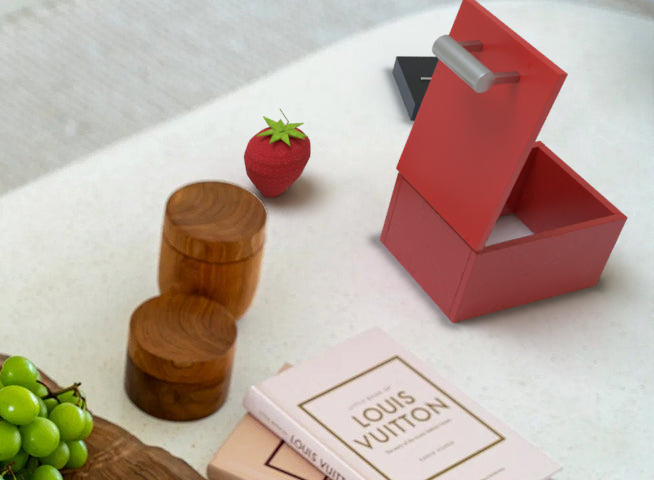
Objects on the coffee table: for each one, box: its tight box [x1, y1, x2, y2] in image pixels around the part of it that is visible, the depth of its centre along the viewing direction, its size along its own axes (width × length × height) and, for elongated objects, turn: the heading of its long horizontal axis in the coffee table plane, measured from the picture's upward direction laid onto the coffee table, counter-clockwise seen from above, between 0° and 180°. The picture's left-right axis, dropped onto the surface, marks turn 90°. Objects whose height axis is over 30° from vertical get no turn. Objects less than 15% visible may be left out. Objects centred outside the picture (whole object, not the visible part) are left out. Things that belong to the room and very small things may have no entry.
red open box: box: [379, 140, 628, 324], centre depth 106 cm, size 16×13×9 cm
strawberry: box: [243, 108, 312, 199], centre depth 113 cm, size 6×8×10 cm
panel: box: [391, 55, 439, 122], centre depth 128 cm, size 12×10×3 cm
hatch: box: [395, 0, 569, 251], centre depth 95 cm, size 16×13×5 cm
